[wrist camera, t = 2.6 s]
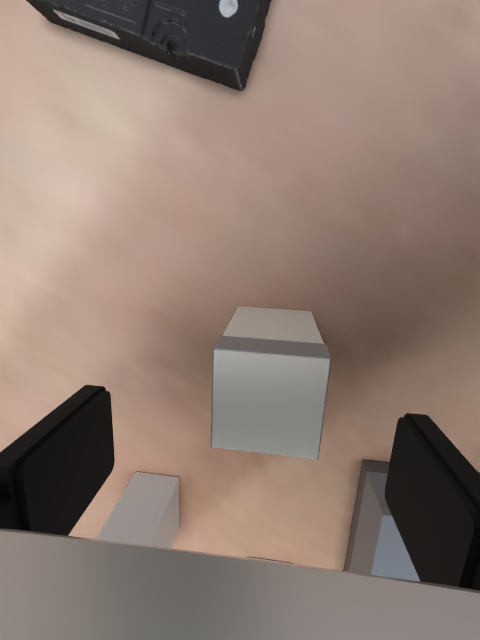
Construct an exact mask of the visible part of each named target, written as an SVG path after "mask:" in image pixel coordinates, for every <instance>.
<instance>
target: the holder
mask: <svg viewBox="0 0 480 640" xmlns="http://www.w3.org/2000/svg"><path fill="white" fill-rule="evenodd" d="M389 464H390V463H388V462H379V461H370V460H363V461H362V467H361V473H360V479H359V485H358V491H357V496H356V502H355V508H354V514H353V520H352V525H351V531H350V537H349V543H348V549H347V554H346V560H345V566H344V571H347V572H355V573H362V574H370V575H377V576H384V577H392V578H399V579H406V580H413V581H420V579H419V577H418V575H417V573H416V570H415V568H414V566H413V563H412V561H411V559H410V556H409V554H408V552H407V549H406V547H405V545H404V542H403V540H402V538H401V535H400V533H399V531H398V529H397V526H396V524H395V522H394V519H393V517H392V515H391V512H390V510H389V508H388V505H387V503H386V500H385V485H386V480H387V475H388V470H389ZM479 474H480V473H479Z"/></svg>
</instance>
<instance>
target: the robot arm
mask: <svg viewBox="0 0 480 640" xmlns="http://www.w3.org/2000/svg"><path fill="white" fill-rule="evenodd" d="M113 467H114V443H113V427H112V411H111V396H110V392H109V391H106V389H105V387H103V386H92V385H85V386H84V387H82V388H81V389H80V390H79V391H77V392H76V393H75V394H73V395H72V396H71V397H70V398H68V399H67V400H66V401H65V402H63V403H62V404H61V405H60V406H58V407H57V408H56V409H55V410H53V411H52V412H51V413H49V414H48V415H47V416H46V417H44V418H43V419H42V420H41V421H39V422H38V423H37V424H36V425H34V426H33V427H32V428H31V429H29V430H28V431H27V432H25V433H24V434H23V435H22V436H20V437H19V438H18V439H17V440H15V441H14V442H13V443H12V444H10V445H9V446H8V447H6V448H5V449H4V450H3V451H1V452H0V640H480V474H479V473H478V472H477V471H476V470H475V469H474V467H473V466H472V465H471V464H470V463H469V462H468V461H467V459H466V458H465V457H464V456H463V455H462V454H461V453H460V451H459V450H458V449H457V448H456V447H455V446H454V445H453V444H452V442H451V441H450V440H449V439H448V438H447V437H446V436H445V434H444V433H443V432H442V431H441V430H440V429H439V428H438V426H437V425H436V424H435V423H434V422H433V421H432V420H431V418H430V417H429V416H427V415H422V414H410V413H407V414H405V416H404V418H402V417H400V418H399V419H398V422H397V427H396V433H395V438H394V443H393V449H392V454H391V459H390V464H389V470H388V475H387V480H386V485H385V500H386V503H387V505H388V508H389V510H390V512H391V515H392V517H393V519H394V522H395V524H396V526H397V529H398V531H399V533H400V535H401V538H402V540H403V542H404V545H405V547H406V549H407V552H408V554H409V556H410V559H411V561H412V563H413V566H414V568H415V570H416V573H417V575H418V577H419V579H420V581H413V580H406V579H399V578H392V577H384V576H377V575H370V574H362V573H355V572H347V571H340V570H332V569H325V568H318V567H310V566H303V565H295V564H288V563H280V562H273V561H265V560H257V559H249V558H242V557H234V556H226V555H218V554H211V553H203V552H195V551H187V550H179V549H171V548H163V547H155V546H147V545H139V544H131V543H122V542H114V541H106V540H98V539H89V538H81V537H73V536H68V535H69V533H70V532H71V530H72V529H73V527H74V526H75V524H76V523H77V522H78V520H79V519H80V517H81V516H82V514H83V513H84V511H85V510H86V508H87V507H88V505H89V504H90V503H91V501H92V500H93V498H94V497H95V495H96V494H97V492H98V491H99V489H100V488H101V486H102V485H103V484H104V482H105V481H106V479H107V478H108V476H109V475H110V473H111V472H112V470H113Z"/></svg>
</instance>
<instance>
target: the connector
mask: <svg viewBox="0 0 480 640" xmlns="http://www.w3.org/2000/svg"><path fill="white" fill-rule="evenodd" d="M330 363H331V356H330V353H329V351H328V348H327V346H326V344H324V343H323V340H322V338H321V335H320V333H319V330H318V328H317V325H316V322H315V320H314V317H313V315H312V312H311V311H301V310H286V309H272V308H258V307H243V306H239V307H238V308H237V310H236V312H235V314H234V315H233V317H232V319H231V321H230V323H229V324H228V326H227V328H226V330H225V331H224V333H223V335H222V336H220V337H219V338H218V340H217V342H216V344H215V345H214V347H213V379H212V424H211V447H213V448H221V449H230V450H239V451H247V452H256V453H264V454H273V455H281V456H290V457H298V458H307V459H316V460H317V459H318V457H319V450H320V442H321V434H322V426H323V418H324V410H325V403H326V395H327V387H328V379H329V371H330Z"/></svg>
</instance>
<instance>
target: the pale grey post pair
mask: <svg viewBox="0 0 480 640" xmlns="http://www.w3.org/2000/svg"><path fill="white" fill-rule="evenodd" d="M179 525H180V509H179V477H174V476H166V475H158V474H150V473H143V472H136V473H135V475H134V476H133V478H132V480H131V481H130V483H129V485H128V486H127V488H126V490H125V491H124V493H123V495H122V496H121V498H120V500H119V501H118V503H117V505H116V506H115V508H114V510H113V511H112V513H111V515H110V516H109V518H108V520H107V521H106V523H105V525H104V526H103V528H102V530H101V531H100V533H99V535H98V536H97V538H96V539H98V540H106V541H114V542H122V543H131V544H139V545H147V546H155V547H163V548H172V545H173V542H174V539H175V537H176V534H177V531H178V528H179ZM249 559H257V560H265V561H273V560H266V559H259V558H253V557H249ZM273 562H279V561H273ZM280 563H286V562H280ZM288 564H292V563H288Z"/></svg>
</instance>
